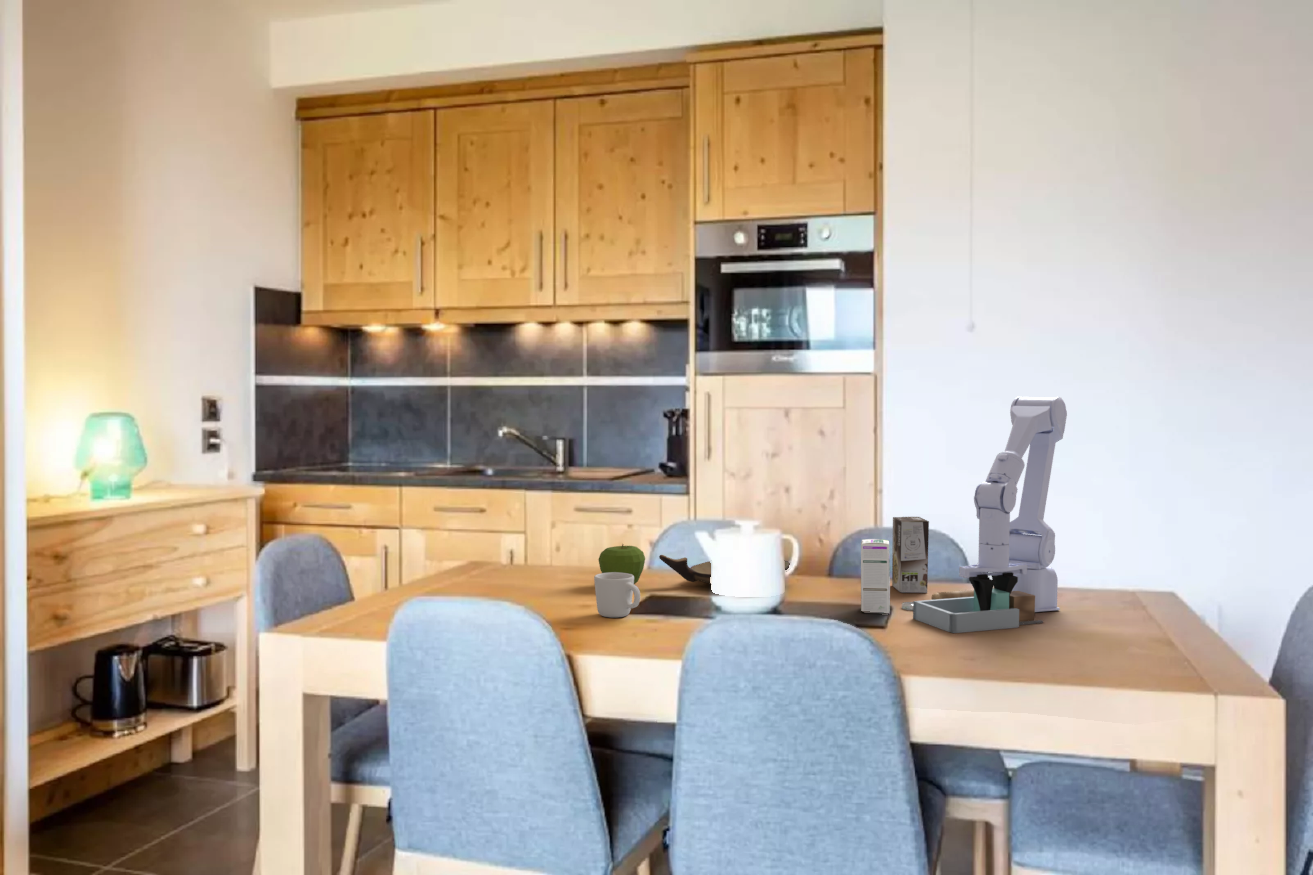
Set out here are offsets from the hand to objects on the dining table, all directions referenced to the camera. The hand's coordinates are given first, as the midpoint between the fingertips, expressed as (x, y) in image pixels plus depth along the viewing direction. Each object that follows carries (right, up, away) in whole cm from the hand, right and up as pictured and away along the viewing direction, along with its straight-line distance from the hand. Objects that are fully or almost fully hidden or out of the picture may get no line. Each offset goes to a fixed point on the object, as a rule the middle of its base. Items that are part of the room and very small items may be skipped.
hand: (992, 612), depth 209 cm
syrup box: (-21, -1, +8) cm, 23 cm away
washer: (-13, -1, +11) cm, 17 cm away
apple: (-74, 0, +33) cm, 81 cm away
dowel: (-2, -1, +19) cm, 19 cm away
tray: (-5, -2, -2) cm, 6 cm away
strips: (+5, -2, +2) cm, 5 cm away
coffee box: (-9, 0, +32) cm, 33 cm away
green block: (0, -2, +1) cm, 2 cm away
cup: (-73, -2, +2) cm, 74 cm away
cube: (+5, -2, +2) cm, 6 cm away
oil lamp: (-50, 0, +36) cm, 62 cm away
